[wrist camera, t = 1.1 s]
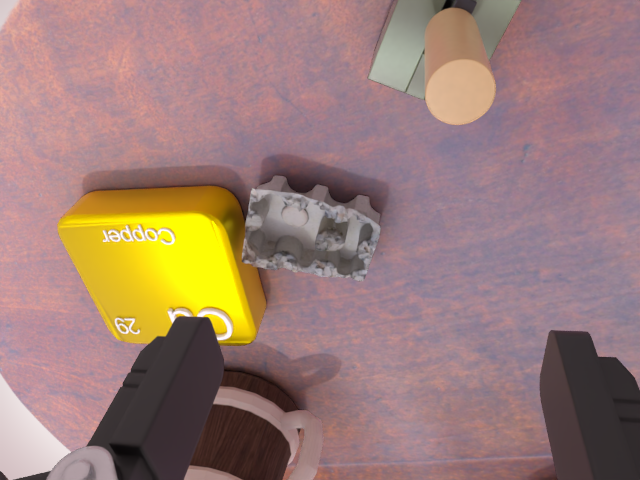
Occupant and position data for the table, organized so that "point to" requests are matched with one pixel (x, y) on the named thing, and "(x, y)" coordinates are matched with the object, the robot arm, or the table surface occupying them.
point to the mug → (255, 434)
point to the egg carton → (309, 231)
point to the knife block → (409, 46)
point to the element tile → (165, 261)
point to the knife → (457, 66)
